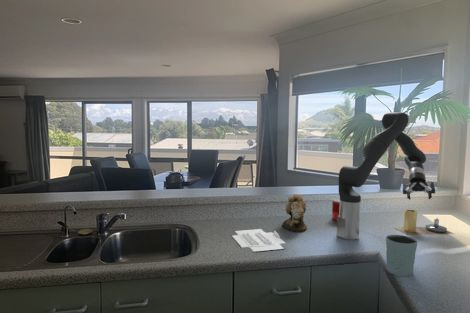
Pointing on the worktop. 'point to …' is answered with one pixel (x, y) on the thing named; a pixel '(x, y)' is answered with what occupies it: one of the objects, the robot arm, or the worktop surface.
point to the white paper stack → (258, 240)
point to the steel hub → (436, 227)
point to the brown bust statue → (295, 214)
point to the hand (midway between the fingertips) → (419, 198)
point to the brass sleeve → (410, 220)
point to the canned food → (335, 209)
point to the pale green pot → (400, 254)
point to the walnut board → (420, 231)
